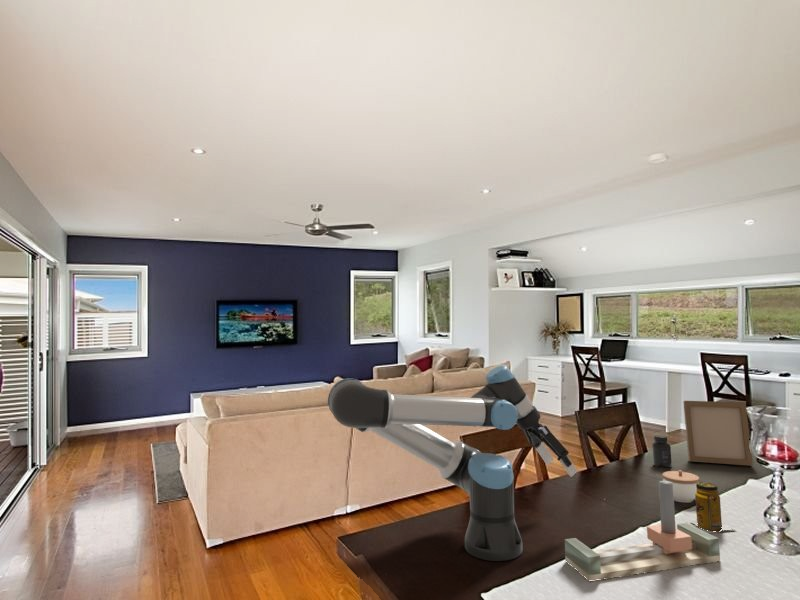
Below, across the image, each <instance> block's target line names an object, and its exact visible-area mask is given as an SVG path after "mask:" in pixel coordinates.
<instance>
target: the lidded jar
mask: <svg viewBox="0 0 800 600" xmlns="http://www.w3.org/2000/svg"><path fill="white" fill-rule="evenodd" d="M661 476H662V481H670V482H672V483H673V494H674V502H679V503H685V504H686V503H688V504H689V503H692V502H693V501H694V500H696V498H695V493H696V492H697V491H696V489H697V487H696V484H697V483H700V477H699V476H698V475H697V474H694V473H691V472H686V471H683V470H680V469H679V470H677V471H676V470H670V471H664V472H663V473H662V474H661Z"/></svg>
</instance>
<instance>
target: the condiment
mask: <svg viewBox="0 0 800 600" xmlns="http://www.w3.org/2000/svg"><path fill="white" fill-rule="evenodd" d="M696 487H697V489H696V491H697V492H696V493H695V509H696V510H695V511H696V523H698V524H697V525H698V527H700V528H702V529H704V530H703V531H705V532H707V533H709V534H713V533H714V534H715V533H716V534H717V533H724V532H725V531H723V530H722V531H721V532H719V531H720V530H721V529H722V528H721V527H722V524H723V523H722V522H723V521H722V509H721V507H722V506H721V497H720V495H719V487H718V486H717V484H714V483H711V482H710V483H709V482H700V481H699V483H697V484H696ZM698 527H697V528H698ZM700 528H699V529H700ZM702 529H701V530H702ZM731 529H732V530H727V531H726V532H733V531H737V530H736V529H734V530H733V528H731ZM707 530H708V531H707ZM713 531H716V532H713Z"/></svg>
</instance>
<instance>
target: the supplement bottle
mask: <svg viewBox="0 0 800 600" xmlns="http://www.w3.org/2000/svg"><path fill="white" fill-rule="evenodd" d="M653 438H654V439H653V443H652V444H651V447H652V449H651V450H652V462H653V463H652V464H653V466H654V465H655V466H654V467H656V466H658V467H657V468H660V467H663V468H662V469H670V468H671V467H672V466H673V462H672V446H671V444H670V443H669V442H668V436H666V435H662V434H660V435H657V434H656V435H654V436H653Z"/></svg>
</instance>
